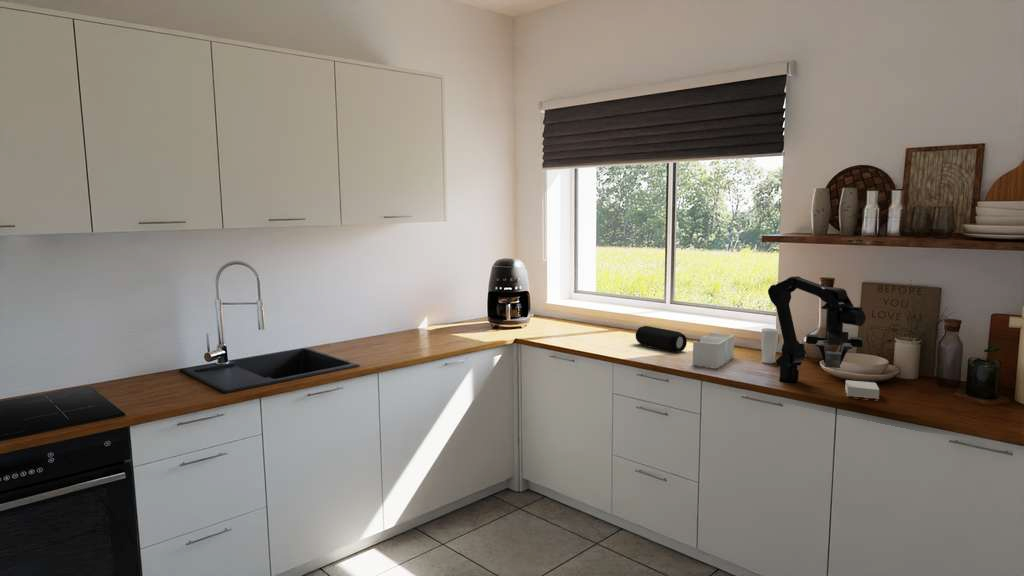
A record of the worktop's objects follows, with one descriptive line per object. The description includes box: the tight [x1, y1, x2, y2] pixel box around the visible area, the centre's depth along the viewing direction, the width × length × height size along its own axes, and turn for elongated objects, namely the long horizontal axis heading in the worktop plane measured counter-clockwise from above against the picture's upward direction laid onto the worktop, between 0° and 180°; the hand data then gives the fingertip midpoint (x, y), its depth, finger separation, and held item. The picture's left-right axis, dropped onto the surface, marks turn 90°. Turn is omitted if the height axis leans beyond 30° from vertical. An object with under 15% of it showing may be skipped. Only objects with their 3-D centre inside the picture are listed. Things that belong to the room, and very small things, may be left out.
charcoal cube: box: [824, 350, 841, 369], centre depth 241 cm, size 5×5×5 cm
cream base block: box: [844, 379, 880, 400], centre depth 238 cm, size 10×10×4 cm
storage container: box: [692, 332, 735, 369], centre depth 291 cm, size 25×11×11 cm, turn 146°
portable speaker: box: [635, 325, 688, 353], centre depth 319 cm, size 26×10×10 cm, turn 37°
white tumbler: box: [760, 327, 779, 365], centre depth 289 cm, size 7×7×15 cm
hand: (832, 363), depth 241 cm, fingers closed on charcoal cube, 5 cm apart
